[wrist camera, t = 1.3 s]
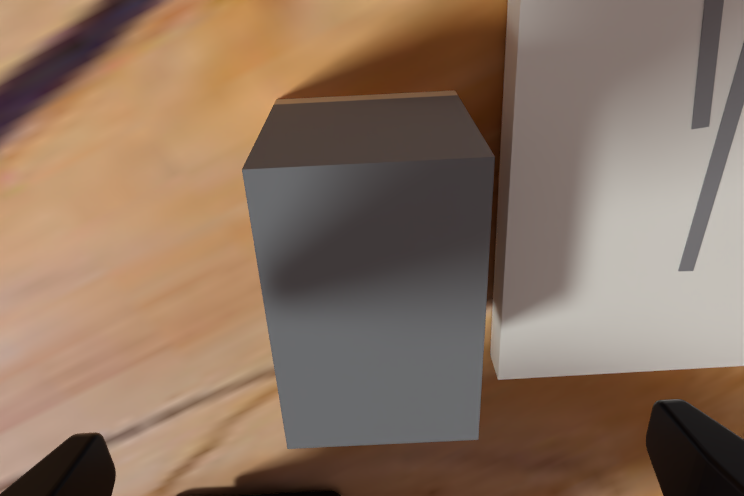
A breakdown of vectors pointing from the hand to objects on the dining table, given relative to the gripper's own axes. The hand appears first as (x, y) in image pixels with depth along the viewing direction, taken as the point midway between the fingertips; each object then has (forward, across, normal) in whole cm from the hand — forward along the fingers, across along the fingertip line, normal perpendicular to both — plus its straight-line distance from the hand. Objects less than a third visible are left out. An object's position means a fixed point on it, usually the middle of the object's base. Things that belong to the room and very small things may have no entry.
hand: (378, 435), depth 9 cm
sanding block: (+8, 0, 0) cm, 8 cm away
